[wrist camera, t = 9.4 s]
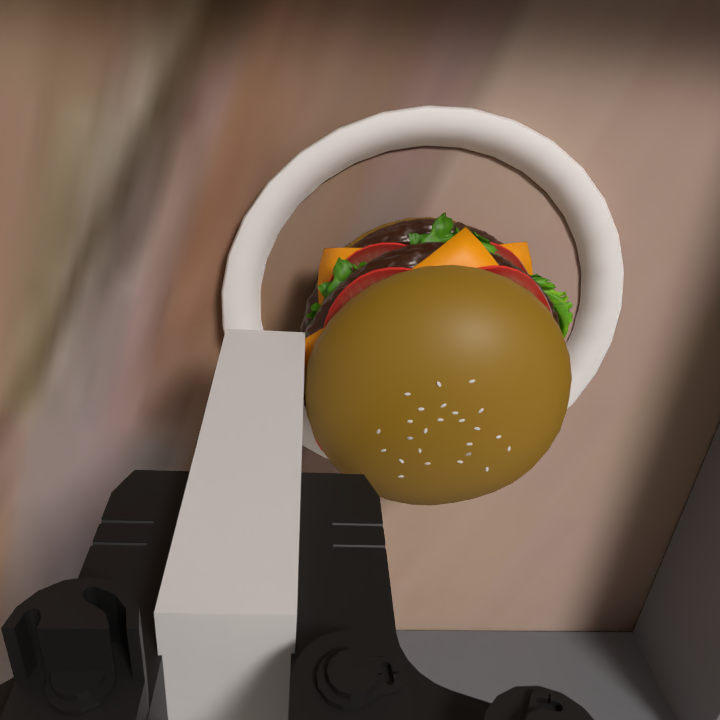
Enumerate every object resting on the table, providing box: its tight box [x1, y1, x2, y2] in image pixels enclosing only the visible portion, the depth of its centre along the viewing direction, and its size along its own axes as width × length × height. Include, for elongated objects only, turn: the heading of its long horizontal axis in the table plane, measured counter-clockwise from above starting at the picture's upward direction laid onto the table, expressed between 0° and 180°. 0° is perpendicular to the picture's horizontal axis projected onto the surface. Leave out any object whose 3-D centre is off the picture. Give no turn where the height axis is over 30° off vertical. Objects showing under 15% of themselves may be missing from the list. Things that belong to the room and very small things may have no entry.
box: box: [396, 424, 720, 720], centre depth 14 cm, size 22×17×4 cm
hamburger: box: [221, 105, 624, 505], centre depth 14 cm, size 12×12×6 cm
